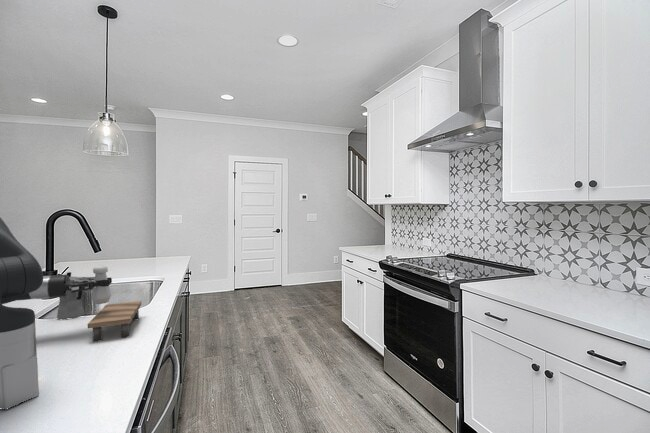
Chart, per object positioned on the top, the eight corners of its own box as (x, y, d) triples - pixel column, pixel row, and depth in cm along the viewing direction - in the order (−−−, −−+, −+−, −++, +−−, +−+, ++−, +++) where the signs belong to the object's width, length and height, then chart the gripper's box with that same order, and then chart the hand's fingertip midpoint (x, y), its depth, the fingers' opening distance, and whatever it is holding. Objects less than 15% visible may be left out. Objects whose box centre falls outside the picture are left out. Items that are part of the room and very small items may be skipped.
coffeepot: (48, 317, 132) (46, 273, 131) (74, 310, 140) (72, 268, 140) (70, 322, 125) (68, 276, 125) (96, 315, 134) (94, 271, 133)
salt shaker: (101, 305, 113) (99, 268, 112) (87, 304, 114) (85, 267, 113) (115, 300, 118) (113, 265, 118) (101, 299, 119) (100, 264, 119)
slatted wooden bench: (130, 337, 110) (129, 318, 110) (88, 343, 106) (87, 323, 106) (141, 316, 131) (141, 300, 131) (107, 320, 127) (106, 304, 127)
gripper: (41, 280, 103) (106, 275, 110) (56, 271, 116) (113, 267, 123) (42, 303, 104) (107, 296, 111) (57, 292, 116) (114, 287, 124)
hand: (110, 281), depth 117 cm, fingers closed on salt shaker, 3 cm apart
